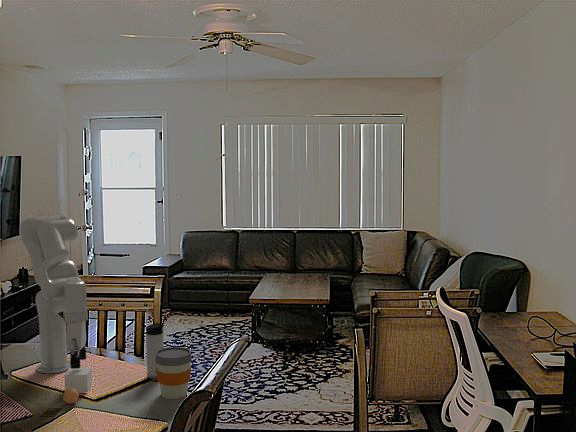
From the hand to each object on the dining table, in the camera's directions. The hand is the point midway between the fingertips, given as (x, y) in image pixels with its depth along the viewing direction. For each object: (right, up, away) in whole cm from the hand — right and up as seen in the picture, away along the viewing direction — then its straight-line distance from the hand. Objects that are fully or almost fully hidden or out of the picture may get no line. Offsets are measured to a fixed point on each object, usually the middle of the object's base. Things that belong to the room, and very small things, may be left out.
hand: (78, 363), depth 235 cm
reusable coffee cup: (+34, -10, -2) cm, 36 cm away
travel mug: (+24, -8, +15) cm, 30 cm away
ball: (+1, -9, -10) cm, 13 cm away
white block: (0, -10, +2) cm, 10 cm away
